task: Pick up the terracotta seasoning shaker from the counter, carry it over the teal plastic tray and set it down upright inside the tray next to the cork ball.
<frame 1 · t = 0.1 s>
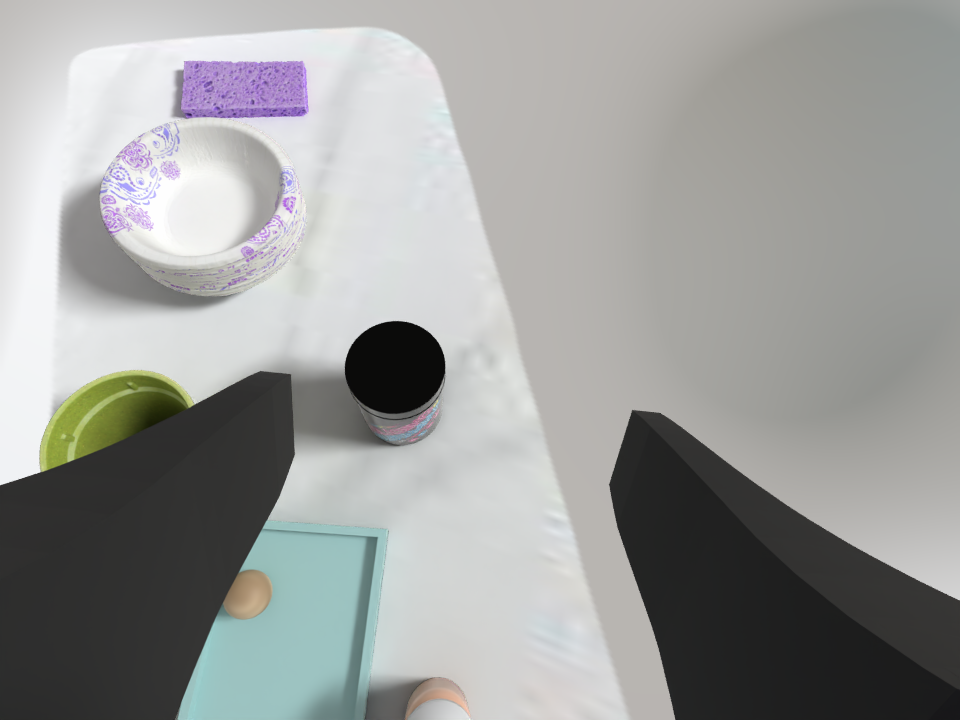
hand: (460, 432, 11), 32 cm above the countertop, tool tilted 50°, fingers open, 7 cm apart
shaker: (437, 713, 36), on the countertop
ball: (255, 592, 37), point 1 cm above the countertop, touching tray
sponges: (250, 99, 56), on the countertop
supplement container: (403, 409, 44), on the countertop
tray: (290, 640, 37), on the countertop
plant pot: (183, 462, 41), on the countertop
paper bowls: (234, 242, 48), on the countertop
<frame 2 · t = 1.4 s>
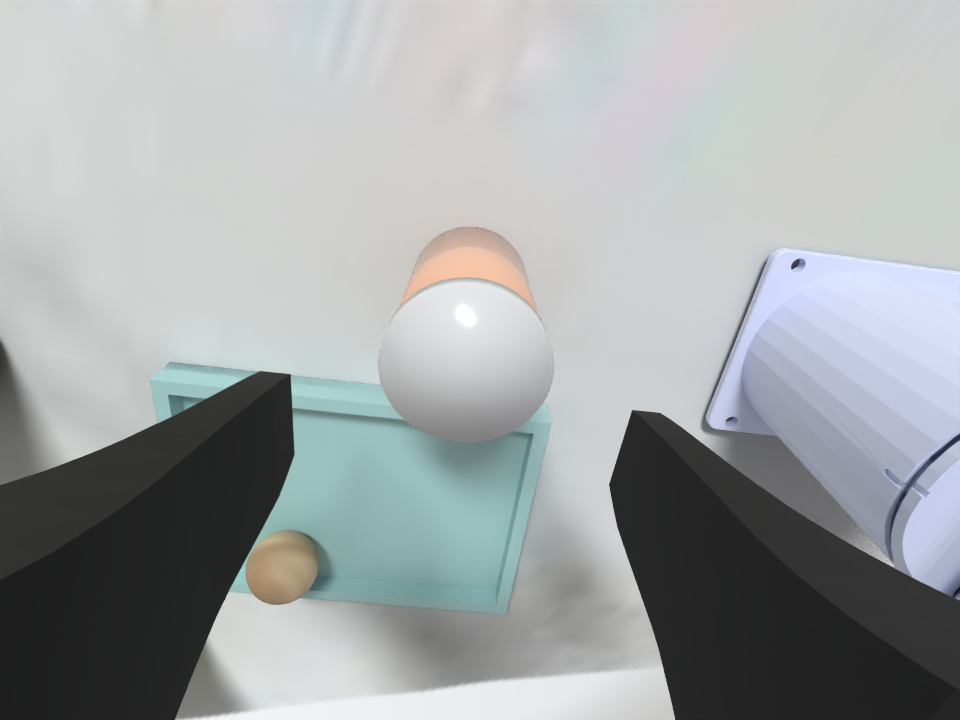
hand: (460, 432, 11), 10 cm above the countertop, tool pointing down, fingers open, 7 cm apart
shaker: (469, 283, 20), on the countertop
ball: (294, 540, 25), point 1 cm above the countertop, touching tray
tray: (359, 491, 24), on the countertop
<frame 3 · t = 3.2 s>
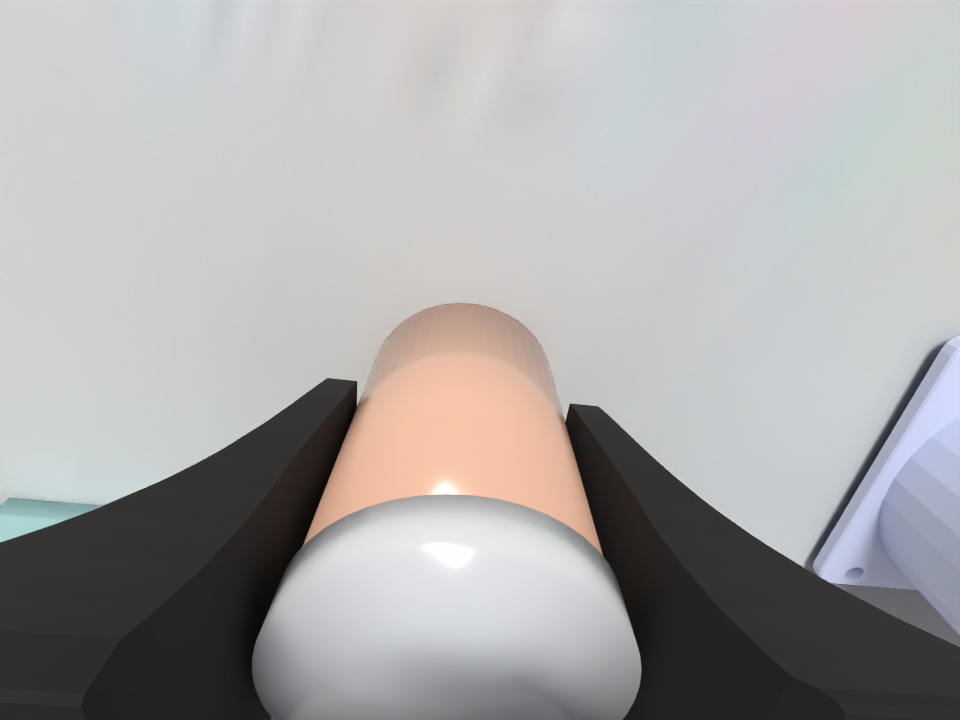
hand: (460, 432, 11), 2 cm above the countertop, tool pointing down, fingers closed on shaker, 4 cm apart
shaker: (462, 387, 12), on the countertop, touching gripper
tray: (309, 654, 17), on the countertop
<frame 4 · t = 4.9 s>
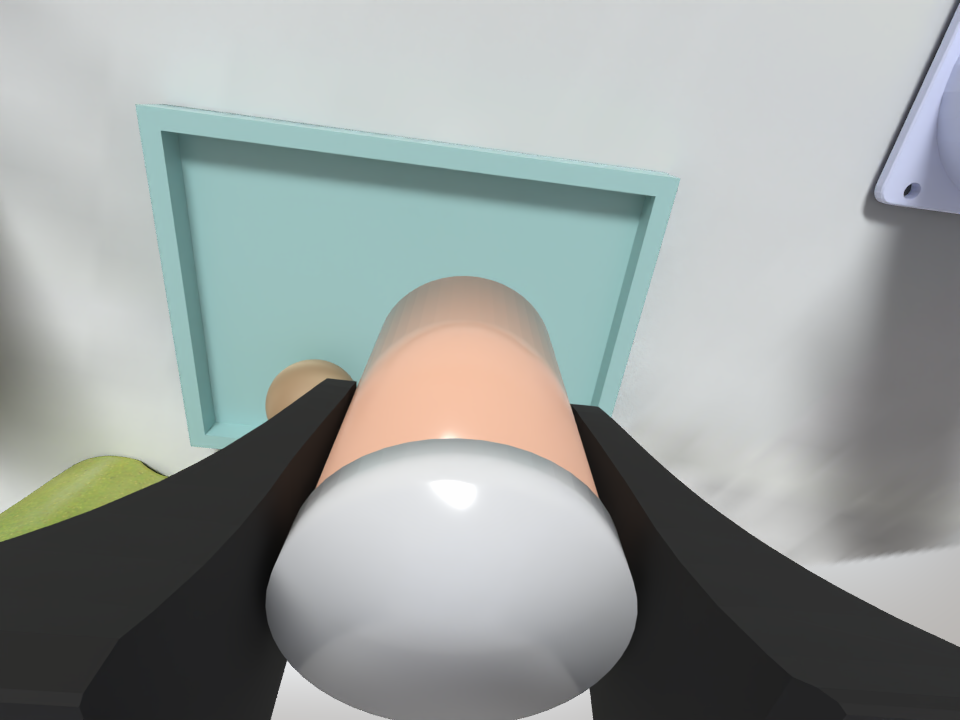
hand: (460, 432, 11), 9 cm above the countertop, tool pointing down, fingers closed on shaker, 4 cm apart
shaker: (464, 360, 13), point 6 cm above the countertop, touching gripper
ball: (325, 381, 19), point 1 cm above the countertop, touching tray
tray: (410, 313, 19), on the countertop
plant pot: (134, 502, 23), on the countertop
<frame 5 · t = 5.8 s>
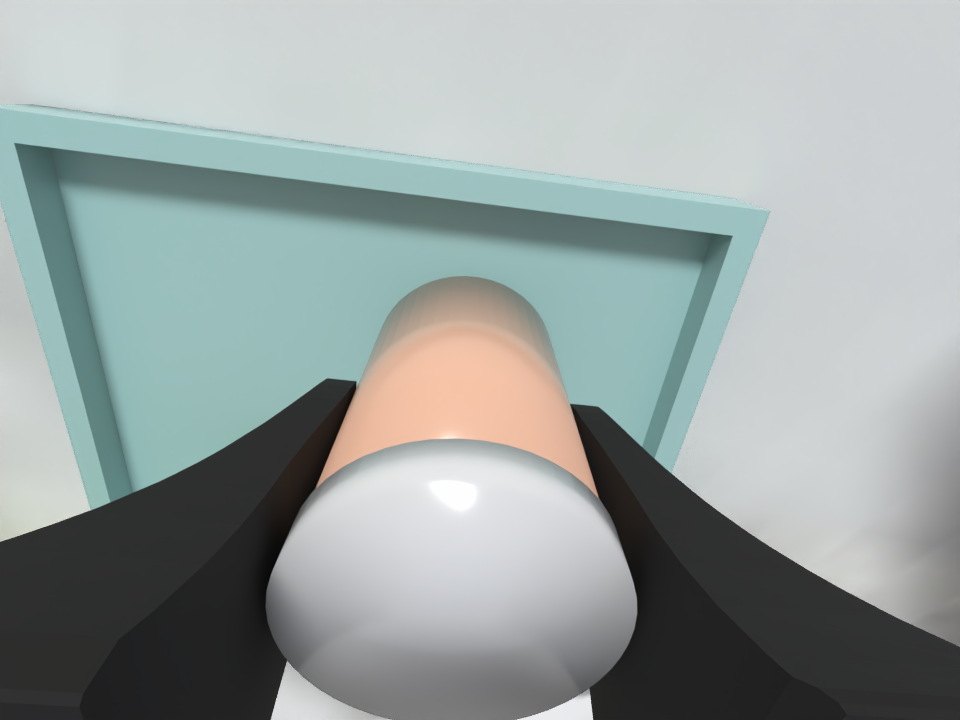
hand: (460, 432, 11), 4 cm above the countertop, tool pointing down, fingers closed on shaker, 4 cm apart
shaker: (464, 360, 13), point 1 cm above the countertop, touching gripper
tray: (389, 381, 14), on the countertop
when the fingers open (3 cm above the countertop, at t = 6.7 s): shaker stays where it is, resting on tray.
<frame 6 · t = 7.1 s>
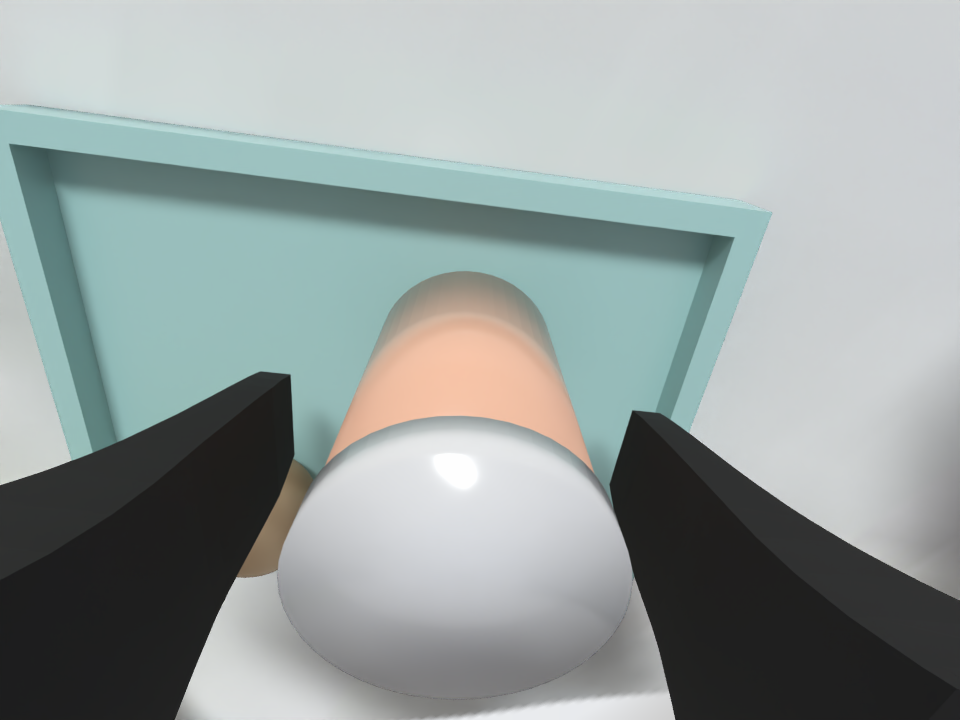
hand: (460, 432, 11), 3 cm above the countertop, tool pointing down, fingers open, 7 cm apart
shaker: (465, 353, 13), point 1 cm above the countertop, touching tray
ball: (277, 471, 15), point 1 cm above the countertop, touching tray
tray: (388, 383, 14), on the countertop
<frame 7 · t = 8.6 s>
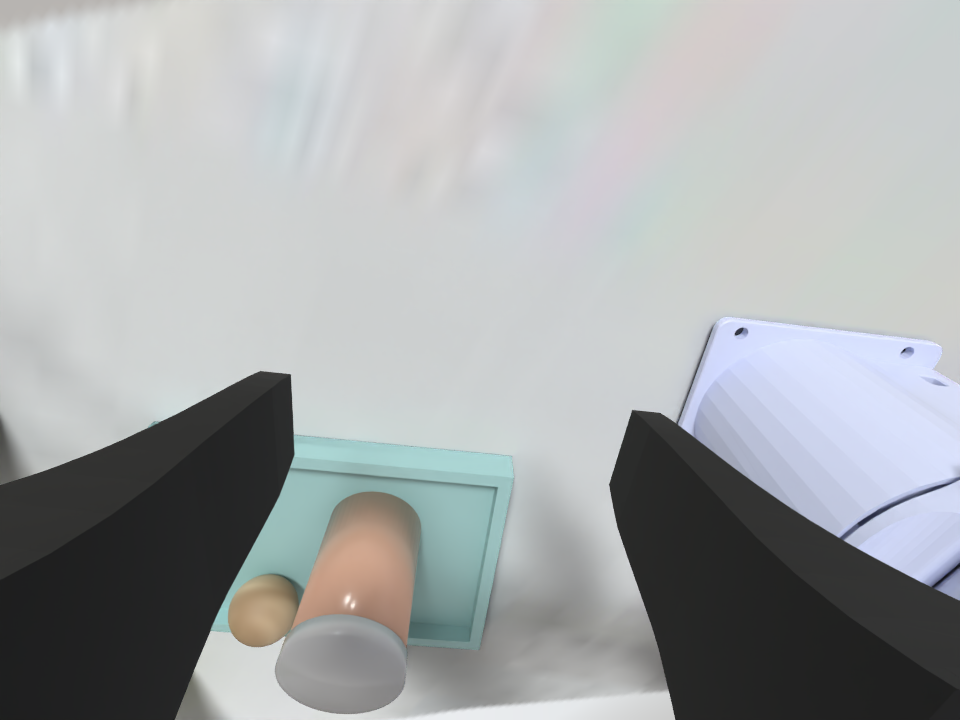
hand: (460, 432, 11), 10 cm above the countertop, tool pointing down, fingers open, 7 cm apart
shaker: (375, 526, 24), point 1 cm above the countertop, touching tray
ball: (275, 581, 26), point 1 cm above the countertop, touching tray
tray: (337, 535, 26), on the countertop
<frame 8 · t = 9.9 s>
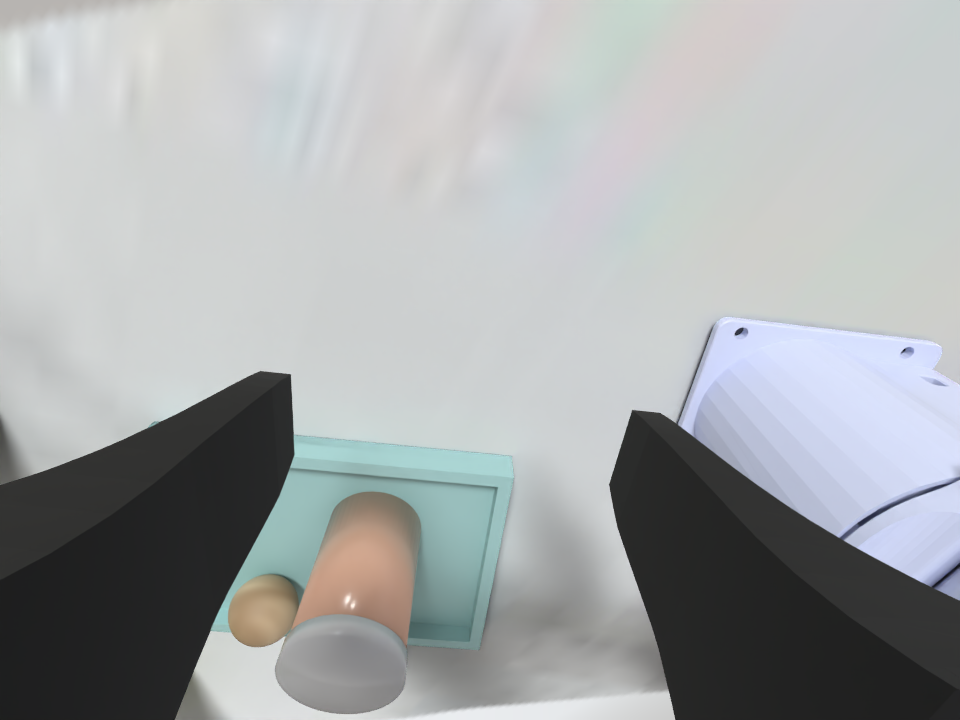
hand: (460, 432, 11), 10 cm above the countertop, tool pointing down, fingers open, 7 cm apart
shaker: (375, 526, 24), point 1 cm above the countertop, touching tray
ball: (275, 581, 26), point 1 cm above the countertop, touching tray
tray: (337, 535, 26), on the countertop
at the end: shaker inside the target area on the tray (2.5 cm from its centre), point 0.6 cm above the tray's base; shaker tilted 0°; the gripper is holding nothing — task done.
